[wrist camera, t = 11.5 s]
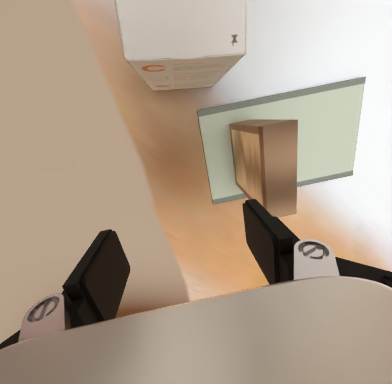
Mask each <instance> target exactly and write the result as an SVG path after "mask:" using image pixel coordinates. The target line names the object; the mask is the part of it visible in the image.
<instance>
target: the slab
mask: <svg viewBox="0 0 392 384" xmlns="http://www.w3.org/2000/svg"><path fill="white" fill-rule="evenodd" d="M229 127H230V136H231V145H232V154H233V163H234V172H235V181H236V185H237V186H238V187H239V188H240V190H241V191H242V192H243V193H244V194H245V195H246V196H247V197H248V199H249V200H250V199H256V200H257V201H258V202H259V203H260V204H261V205H262V206H263V207H264V208H265V209H266V210H267V211H268V212H269V213H270V214H271V215H272V216H276V217H277V218H278V217H283V216H287V215H292V214H296V202H297V147H298V120H272V119H250V120H245V121H240V122H235V123H230V124H229Z"/></svg>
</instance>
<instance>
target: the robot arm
mask: <svg viewBox="0 0 392 384" xmlns="http://www.w3.org/2000/svg"><path fill="white" fill-rule="evenodd" d="M243 213H244V223H245V232H246V241H247V244H248V246H249V248H250V250H251V252H252V254H253V255H254V257H255V259H256V261H257V263H258V264H259V266H260V268H261V270H262V272H263V273H264V275H265V277H266V279H267V281H268V282H269V284H270V285H266V286H261V287H256V288H252V289H247V290H242V291H238V292H233V293H228V294H224V295H219V296H214V297H210V298H205V299H201V300H196V301H191V302H187V303H182V304H178V305H173V306H169V307H164V308H160V309H155V310H151V311H146V312H142V313H137V314H133V315H129V316H124V317H120V318H115V317H116V314H117V311H118V308H119V305H120V301H121V298H122V295H123V292H124V289H125V286H126V282H127V279H128V276H129V273H130V265H129V263H128V260H127V258H126V256H125V253H124V251H123V248H122V246H121V243H120V241H119V239H118V236H117V234H116V232H115V231H112V230H111V229H110V230H105V231H101V232H100V233H99V234H98V236H97V237H96V238H95V240H94V241H93V243H92V244H91V246H90V247H89V248H88V250H87V251H86V253H85V254H84V256H83V257H82V259H81V260H80V261H79V263H78V264H77V266H76V267H75V269H74V270H73V272H72V273H71V274H70V276H69V277H68V279H67V280H66V282H65V283H64V285H63V286H62V287H63V289H64V291H63V292H62V294H60V293H56V294H52V295H49V296H47V297H45V298H43V299H42V300H40V301H39V302H37V303H36V304H35V305H34V306H32V308H30V310H29V311H28V312H27V313H26V315H25V316H24V318H23V321H22V326H21V330H19V331H18V332H16V333H15V334H14V335H12V336H11V337H9V338H8V339H7V340H5V341H4V342H2V343H1V344H0V384H392V272H390V271H386V270H382V269H379V268H375V267H371V266H367V265H364V264H360V263H356V262H352V261H349V260H345V259H341V258H338V257H335V255H334V252H333V250H332V248H331V247H330V246H329V245H327V244H325V243H324V242H321V241H318V240H313V239H304V240H300V239H299V238H298V237H297V236H296V235H295V234H294V233H293V232H292V231H290V230H289V229H288V228H287V227H286V226H285V225H284V224H283V223H282V222H281V221H280V220H279V219H278V218H277V217H276V216H272V215H271V214H270V213H269V212H268V211H267V210H266V209H265V208H264V207H263V206H262V205H261V204H260V203H259V202H258V201H257V200H256V199H250V200H246V201H245V203H243Z"/></svg>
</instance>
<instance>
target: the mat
mask: <svg viewBox="0 0 392 384" xmlns="http://www.w3.org/2000/svg"><path fill="white" fill-rule="evenodd" d="M365 79H366V77H361V78H356V79H351V80H346V81H341V82H336V83H332V84H327V85H322V86H317V87H312V88H307V89H302V90H297V91H292V92H287V93H282V94H277V95H272V96H267V97H262V98H257V99H252V100H247V101H242V102H237V103H232V104H227V105H222V106H217V107H212V108H207V109H202V110H198V111H197V113H198V119H199V124H200V130H201V136H202V142H203V148H204V154H205V160H206V166H207V172H208V178H209V184H210V189H211V195H212V201H213V204H218V203H223V202H227V201H232V200H237V199H242V198H246V197H247V196H246V195H245V194H244V193H243V192H242V191H241V190H240V188H239V187H238V186H237V185H236V181H235V172H234V163H233V154H232V145H231V136H230V127H229V124H230V123H235V122H240V121H245V120H250V119H272V120H298V147H297V187H299V186H304V185H308V184H313V183H318V182H323V181H327V180H332V179H337V178H342V177H347V176H351V175H353V166H354V159H355V151H356V144H357V136H358V129H359V122H360V114H361V107H362V99H363V92H364V84H365Z"/></svg>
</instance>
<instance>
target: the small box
mask: <svg viewBox="0 0 392 384" xmlns="http://www.w3.org/2000/svg"><path fill="white" fill-rule="evenodd" d="M115 5H116V11H117V17H118V23H119V29H120V35H121V41H122V47H123V53H124V59H125V60H126V61H127V62H128V63H129V64H130V66H131V67H132V68H133V69H134V70H135V71H136V72H137V73H138V75H139V76H140V77H141V78H142V79H143V80H144V81H145V83H146V84H147V85H148V86H149V87H150V88H151V89H152V90H153V91H155V90H173V89H187V88H201V87H212V86H213V85H214V84H215V83H216V82H217V81H218V80H219V79H220V78H221V77H222V76H224V75H225V74H226V73H227V72H228V71H229V70H230V69H231V68H232V67H233V66H234V65H235V64H236V63H237V62H238V61H239V60H240V59H241V58H242V57H243V56H244V55H245V54H246V0H115Z"/></svg>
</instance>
